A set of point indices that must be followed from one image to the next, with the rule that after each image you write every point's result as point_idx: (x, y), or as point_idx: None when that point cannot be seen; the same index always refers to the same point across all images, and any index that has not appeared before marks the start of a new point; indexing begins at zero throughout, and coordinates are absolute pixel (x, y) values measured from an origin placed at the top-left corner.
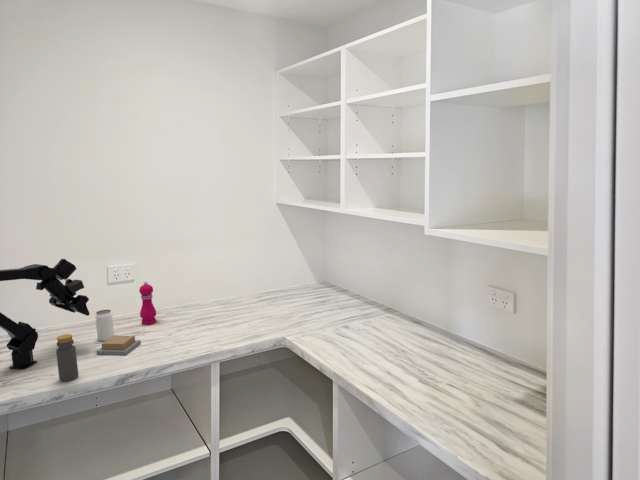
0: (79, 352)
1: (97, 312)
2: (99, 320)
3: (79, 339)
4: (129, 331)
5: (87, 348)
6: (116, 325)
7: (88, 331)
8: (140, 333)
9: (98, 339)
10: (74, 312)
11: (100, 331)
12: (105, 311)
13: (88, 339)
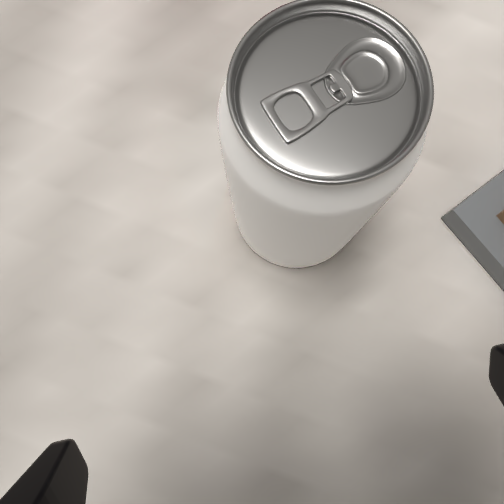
0: (446, 479)
1: (254, 149)
2: (374, 209)
3: (135, 356)
4: None
5: (402, 397)
6: (58, 38)
7: (5, 231)
8: (382, 5)
9: (302, 267)
10: (84, 472)
11: (346, 241)
12: (303, 56)
13: (196, 307)
